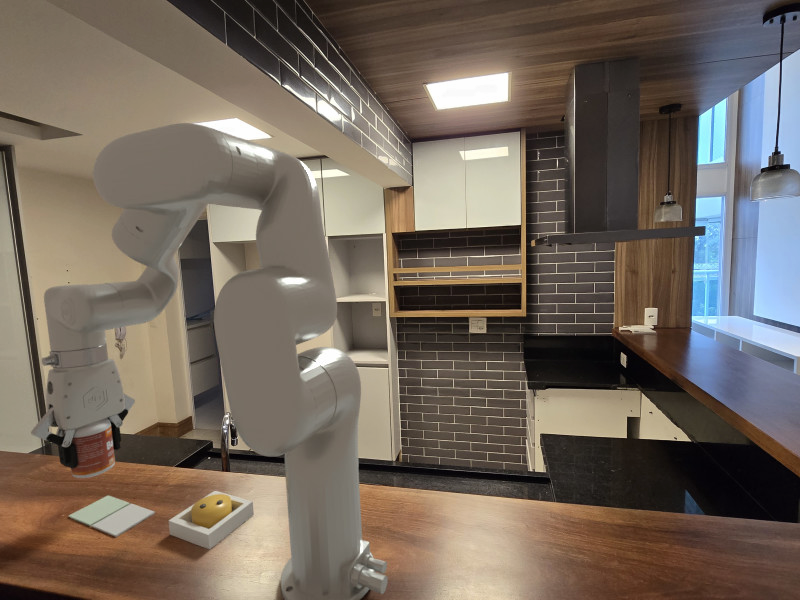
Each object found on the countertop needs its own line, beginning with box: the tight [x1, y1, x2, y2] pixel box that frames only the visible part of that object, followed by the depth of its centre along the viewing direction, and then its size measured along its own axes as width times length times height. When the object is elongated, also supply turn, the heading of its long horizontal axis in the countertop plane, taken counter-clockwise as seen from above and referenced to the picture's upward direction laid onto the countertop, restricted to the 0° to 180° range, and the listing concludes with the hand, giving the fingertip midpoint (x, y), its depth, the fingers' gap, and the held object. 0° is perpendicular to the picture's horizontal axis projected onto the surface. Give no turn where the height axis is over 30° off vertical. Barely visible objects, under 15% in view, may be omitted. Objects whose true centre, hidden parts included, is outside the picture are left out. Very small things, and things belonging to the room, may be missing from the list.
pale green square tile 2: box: [68, 495, 131, 527], centre depth 72 cm, size 6×6×1 cm
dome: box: [191, 494, 232, 529], centre depth 67 cm, size 6×6×3 cm
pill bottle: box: [70, 419, 116, 479], centre depth 71 cm, size 6×6×11 cm
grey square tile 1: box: [91, 503, 156, 538], centre depth 70 cm, size 6×6×1 cm
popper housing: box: [168, 490, 255, 550], centre depth 67 cm, size 9×9×2 cm
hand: (92, 456), depth 71 cm, fingers closed on pill bottle, 6 cm apart
